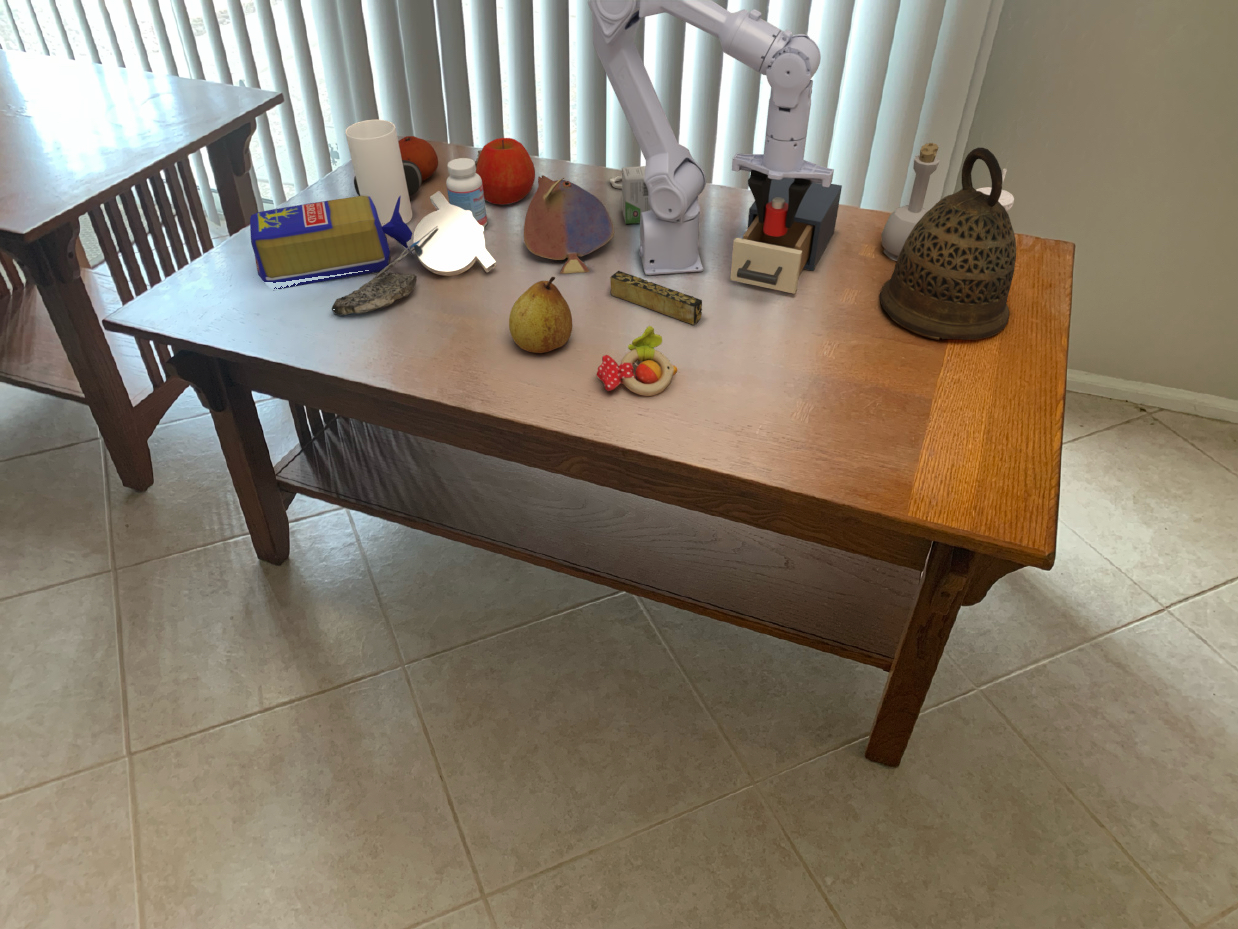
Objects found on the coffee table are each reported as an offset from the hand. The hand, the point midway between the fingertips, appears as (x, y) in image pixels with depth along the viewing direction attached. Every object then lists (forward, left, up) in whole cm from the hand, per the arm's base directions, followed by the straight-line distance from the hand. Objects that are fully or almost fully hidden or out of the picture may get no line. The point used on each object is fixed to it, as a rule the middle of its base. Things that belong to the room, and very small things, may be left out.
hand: (775, 222), depth 130 cm
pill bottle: (-48, +25, -10) cm, 55 cm away
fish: (-31, +15, -10) cm, 36 cm away
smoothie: (+36, +5, -10) cm, 38 cm away
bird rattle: (-20, -27, -9) cm, 35 cm away
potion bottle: (+24, +6, -10) cm, 27 cm away
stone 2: (-47, +44, -5) cm, 64 cm away
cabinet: (+6, +11, -10) cm, 16 cm away
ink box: (-21, +24, -6) cm, 32 cm away
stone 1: (-62, +3, -6) cm, 63 cm away
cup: (-63, +29, -10) cm, 70 cm away
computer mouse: (-63, +38, -7) cm, 74 cm away
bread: (-71, +16, -12) cm, 74 cm away
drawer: (0, +1, -9) cm, 9 cm away
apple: (-41, +34, -10) cm, 55 cm away
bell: (+24, -11, -10) cm, 29 cm away
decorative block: (-19, -5, -10) cm, 22 cm away
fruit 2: (-36, -13, -10) cm, 40 cm away
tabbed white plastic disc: (-46, +15, -6) cm, 49 cm away
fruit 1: (-59, +45, -10) cm, 74 cm away
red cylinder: (0, 0, -1) cm, 1 cm away
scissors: (-58, +8, -7) cm, 59 cm away
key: (-18, +33, -10) cm, 39 cm away
